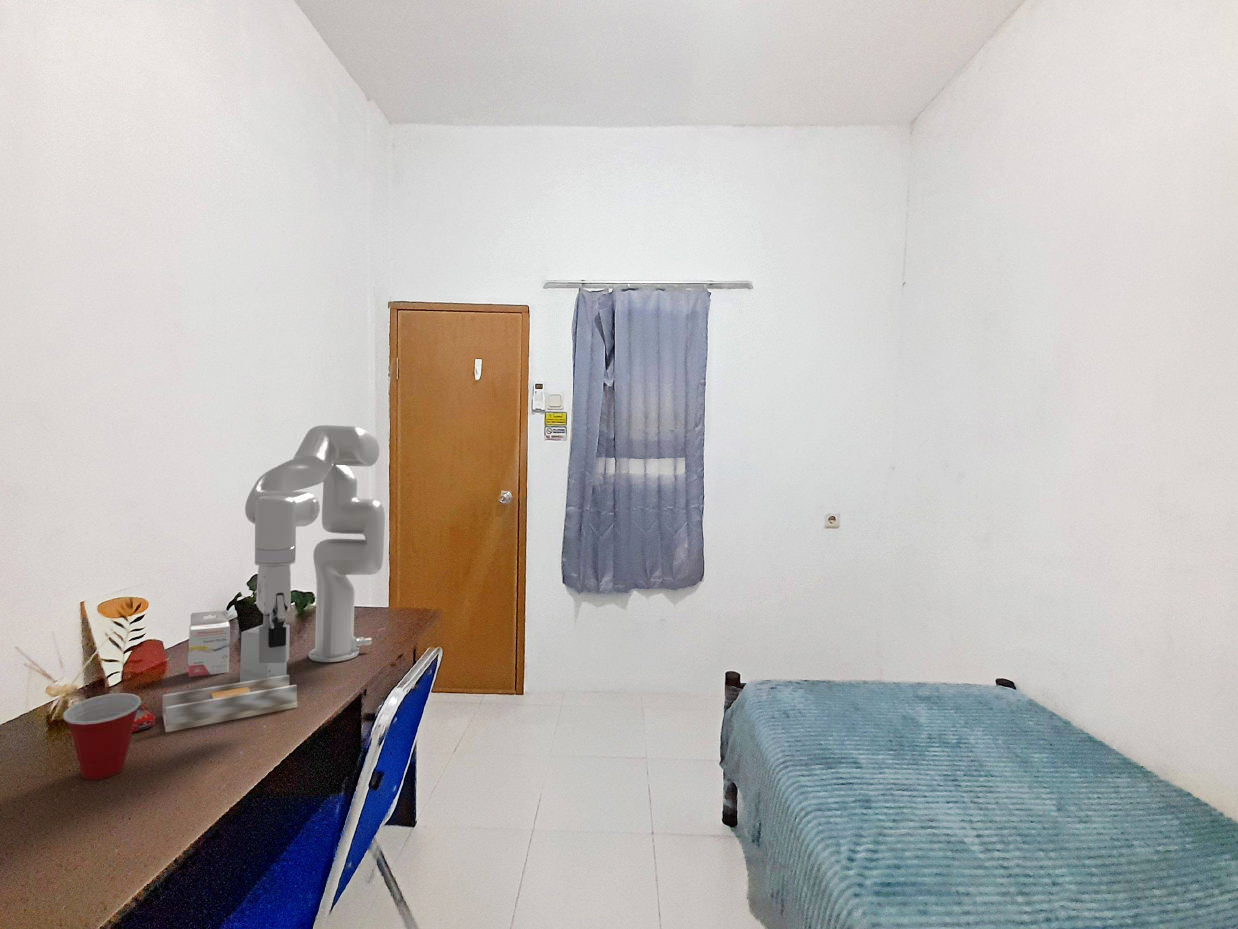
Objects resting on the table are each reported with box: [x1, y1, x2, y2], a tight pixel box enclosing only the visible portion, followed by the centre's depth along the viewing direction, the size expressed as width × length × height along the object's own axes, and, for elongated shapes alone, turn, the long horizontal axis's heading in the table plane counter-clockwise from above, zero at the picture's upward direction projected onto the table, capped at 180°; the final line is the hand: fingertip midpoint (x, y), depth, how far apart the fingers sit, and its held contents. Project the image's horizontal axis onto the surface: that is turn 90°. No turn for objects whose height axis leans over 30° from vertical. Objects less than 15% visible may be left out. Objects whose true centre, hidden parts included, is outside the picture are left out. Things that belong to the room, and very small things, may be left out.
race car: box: [132, 704, 156, 733], centre depth 138 cm, size 13×5×4 cm, turn 58°
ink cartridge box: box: [187, 609, 231, 678], centre depth 168 cm, size 9×5×15 cm, turn 123°
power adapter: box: [259, 613, 291, 663], centre depth 141 cm, size 3×5×12 cm, turn 96°
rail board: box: [161, 674, 298, 733], centre depth 146 cm, size 24×10×4 cm, turn 127°
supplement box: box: [239, 624, 288, 682], centre depth 164 cm, size 7×7×13 cm
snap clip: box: [211, 687, 250, 699], centre depth 146 cm, size 7×6×1 cm
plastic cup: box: [62, 692, 142, 781], centre depth 118 cm, size 11×11×12 cm
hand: (274, 641), depth 141 cm, fingers closed on power adapter, 4 cm apart
